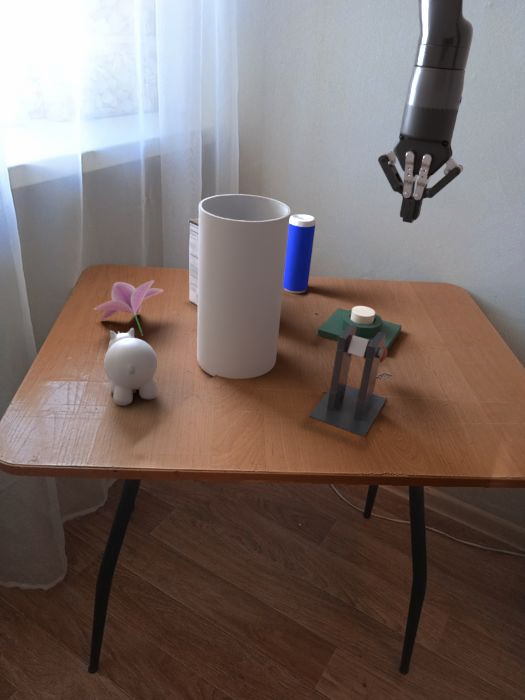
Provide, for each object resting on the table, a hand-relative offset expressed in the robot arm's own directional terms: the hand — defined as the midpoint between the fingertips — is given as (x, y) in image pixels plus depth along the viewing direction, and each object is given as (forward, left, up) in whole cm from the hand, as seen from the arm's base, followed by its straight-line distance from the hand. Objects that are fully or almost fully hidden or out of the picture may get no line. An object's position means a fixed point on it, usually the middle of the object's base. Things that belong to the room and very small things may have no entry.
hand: (408, 221), depth 89 cm
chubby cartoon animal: (+28, +36, -22) cm, 50 cm away
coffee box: (+32, +5, -22) cm, 39 cm away
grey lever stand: (-2, +25, -21) cm, 33 cm away
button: (+4, +3, -18) cm, 18 cm away
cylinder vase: (+18, +22, -22) cm, 35 cm away
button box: (+4, +3, -21) cm, 22 cm away
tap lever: (-2, +21, -15) cm, 25 cm away
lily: (+39, +22, -22) cm, 49 cm away
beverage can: (+22, -9, -22) cm, 32 cm away
